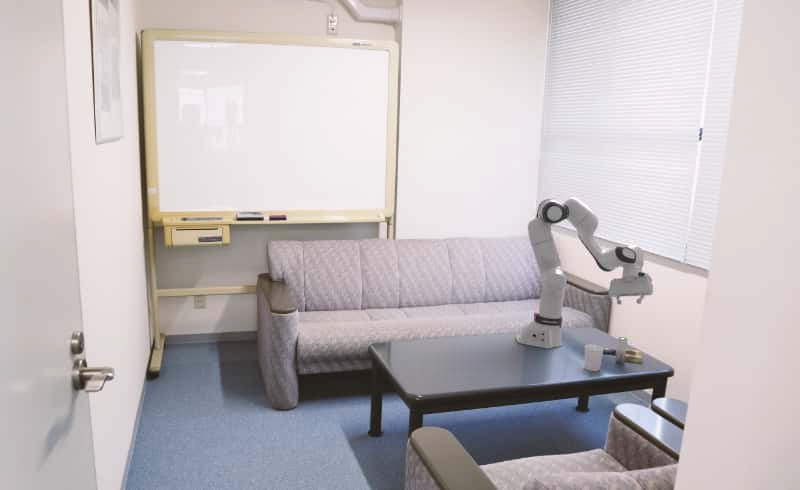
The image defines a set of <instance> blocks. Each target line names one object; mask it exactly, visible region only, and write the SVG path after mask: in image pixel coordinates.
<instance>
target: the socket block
mask: <svg viewBox="0 0 800 490" xmlns="http://www.w3.org/2000/svg"><path fill="white" fill-rule="evenodd" d="M625 362H632V363H637V364H638V363H639V364H642V363H643V356H642V353H641V351H640V350H636V349H629V348H626V356H625Z"/></svg>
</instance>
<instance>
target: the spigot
mask: <svg viewBox="0 0 800 490" xmlns="http://www.w3.org/2000/svg"><path fill="white" fill-rule="evenodd" d="M627 345H628V338H627V337H624V336H618V338H617V346H616V347H617V348H616V355H615V364H616V365H620V366H623V365H625V363H626V361H625V356H626V349H628V348H627V347H628V346H627Z"/></svg>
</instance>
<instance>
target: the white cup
mask: <svg viewBox="0 0 800 490" xmlns="http://www.w3.org/2000/svg"><path fill="white" fill-rule="evenodd" d="M603 348H604V347H602V346H600V345H598V344H591V343H589V344H586V345H584V355H583V356H584V357H583V358H584V365H583V369H585V370H587V371H590V372H599V371H600V369H601V366H602V360H603V355H604V353H603Z"/></svg>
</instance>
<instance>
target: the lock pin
mask: <svg viewBox="0 0 800 490" xmlns="http://www.w3.org/2000/svg"><path fill="white" fill-rule="evenodd" d="M606 353H607V354H609V355H615V356H616V353H617V349H613V348H604V347H603V354H606ZM607 354H606V355H607Z"/></svg>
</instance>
